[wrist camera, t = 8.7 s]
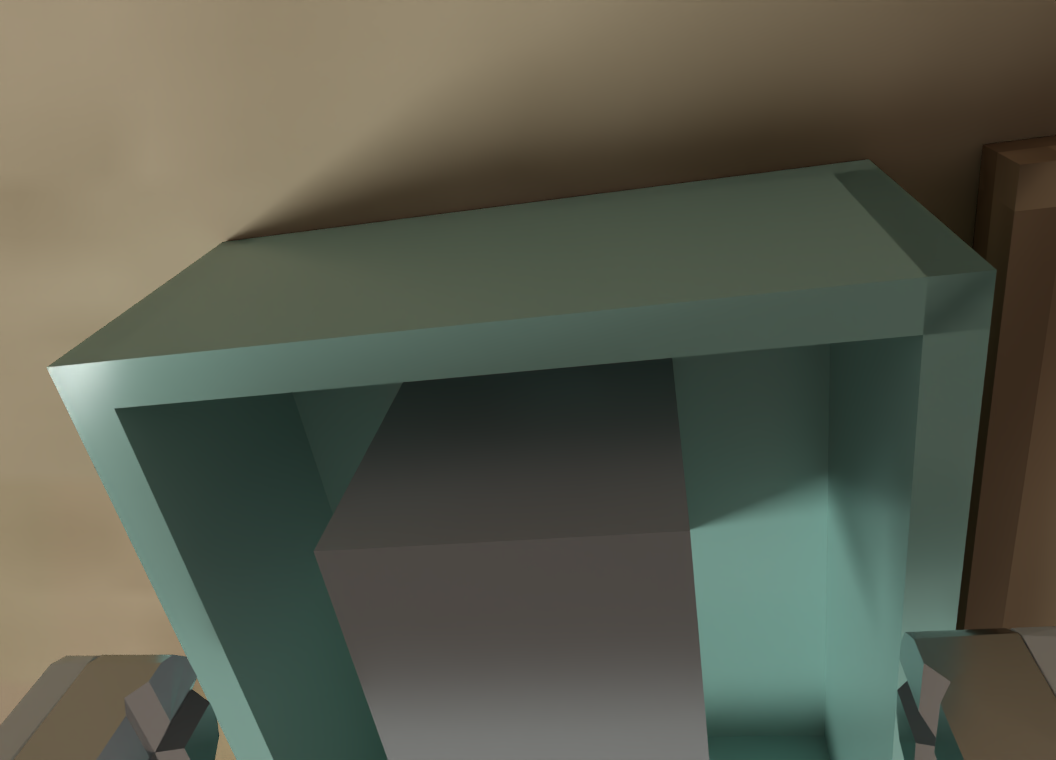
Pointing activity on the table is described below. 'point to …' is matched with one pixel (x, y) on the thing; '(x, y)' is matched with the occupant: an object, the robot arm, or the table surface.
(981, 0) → the table surface
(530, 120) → the table surface
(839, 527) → the bin
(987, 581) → the tray
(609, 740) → the slate block
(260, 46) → the table surface
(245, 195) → the table surface
